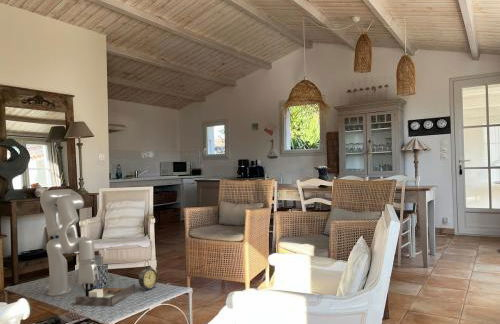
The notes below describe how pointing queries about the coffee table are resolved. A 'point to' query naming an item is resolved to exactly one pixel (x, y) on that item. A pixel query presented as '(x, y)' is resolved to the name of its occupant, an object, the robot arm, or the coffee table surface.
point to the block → (96, 293)
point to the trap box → (107, 297)
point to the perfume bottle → (98, 258)
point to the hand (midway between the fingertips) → (89, 296)
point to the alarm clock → (147, 278)
